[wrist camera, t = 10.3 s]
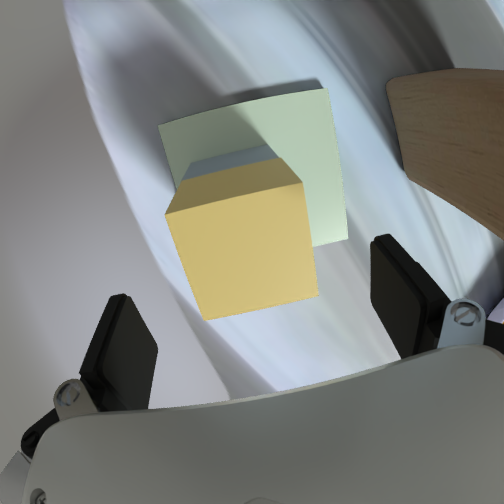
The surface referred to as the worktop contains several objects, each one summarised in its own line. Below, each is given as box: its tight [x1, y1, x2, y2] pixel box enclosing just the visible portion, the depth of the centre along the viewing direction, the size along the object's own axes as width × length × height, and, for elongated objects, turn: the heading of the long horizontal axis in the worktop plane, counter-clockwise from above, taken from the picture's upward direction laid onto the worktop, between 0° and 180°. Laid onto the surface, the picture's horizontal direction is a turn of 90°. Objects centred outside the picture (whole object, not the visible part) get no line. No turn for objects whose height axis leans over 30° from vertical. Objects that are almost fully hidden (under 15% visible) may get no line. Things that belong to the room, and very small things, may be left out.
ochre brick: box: [165, 157, 319, 321], centre depth 18 cm, size 6×6×6 cm
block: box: [386, 68, 504, 240], centre depth 16 cm, size 10×10×20 cm
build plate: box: [158, 88, 348, 247], centre depth 26 cm, size 14×14×1 cm
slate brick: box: [181, 144, 279, 181], centre depth 23 cm, size 6×6×6 cm
